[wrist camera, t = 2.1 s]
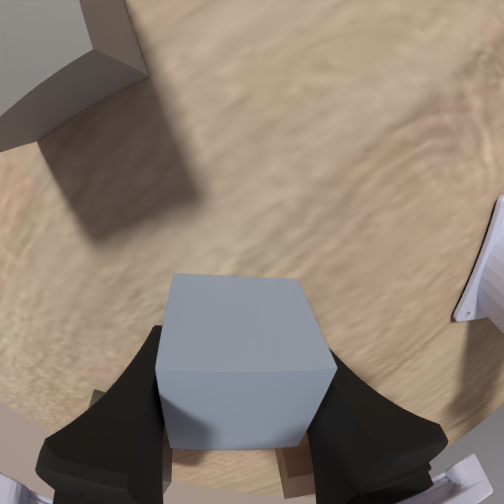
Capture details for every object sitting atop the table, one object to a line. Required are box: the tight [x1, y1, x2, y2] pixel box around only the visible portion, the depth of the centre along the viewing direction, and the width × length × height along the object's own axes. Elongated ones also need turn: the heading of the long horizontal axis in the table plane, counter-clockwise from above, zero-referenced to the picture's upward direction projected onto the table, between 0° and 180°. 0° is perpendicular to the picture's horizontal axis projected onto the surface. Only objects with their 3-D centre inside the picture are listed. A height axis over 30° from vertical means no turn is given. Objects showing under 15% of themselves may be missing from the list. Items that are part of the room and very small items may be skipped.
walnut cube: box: [275, 432, 316, 499], centre depth 16 cm, size 5×5×5 cm
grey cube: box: [0, 0, 150, 152], centre depth 5 cm, size 5×5×5 cm
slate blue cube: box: [155, 273, 337, 450], centre depth 11 cm, size 5×5×5 cm
